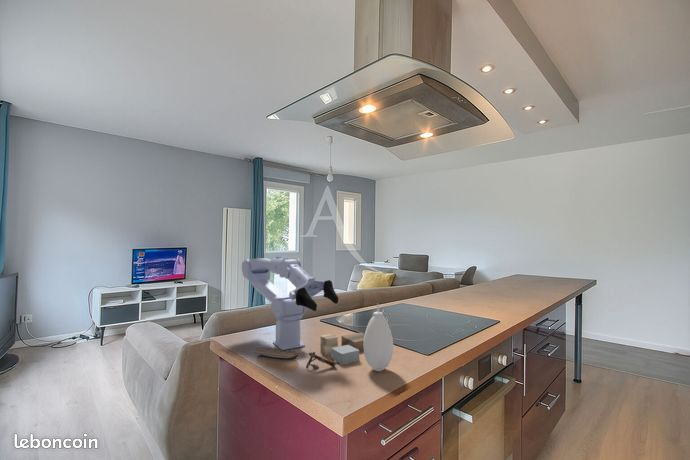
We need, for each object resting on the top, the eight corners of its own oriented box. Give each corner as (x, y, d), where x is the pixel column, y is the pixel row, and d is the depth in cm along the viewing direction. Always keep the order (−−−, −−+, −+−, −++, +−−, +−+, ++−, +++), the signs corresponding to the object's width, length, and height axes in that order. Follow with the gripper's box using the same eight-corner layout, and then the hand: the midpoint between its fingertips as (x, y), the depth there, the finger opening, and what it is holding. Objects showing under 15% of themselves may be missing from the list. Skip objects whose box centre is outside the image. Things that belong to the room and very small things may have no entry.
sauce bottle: (378, 362, 90) (377, 299, 91) (399, 370, 84) (398, 303, 85) (358, 369, 85) (357, 302, 86) (378, 378, 79) (378, 306, 80)
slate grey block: (331, 358, 93) (331, 348, 93) (348, 354, 96) (348, 344, 97) (341, 364, 88) (341, 354, 88) (359, 360, 91) (359, 350, 91)
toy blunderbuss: (302, 364, 86) (309, 349, 87) (329, 375, 87) (335, 359, 87) (303, 367, 84) (309, 351, 85) (329, 378, 85) (336, 362, 86)
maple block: (320, 351, 99) (320, 335, 99) (331, 349, 101) (331, 333, 101) (326, 355, 96) (326, 339, 96) (337, 353, 98) (337, 337, 98)
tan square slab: (341, 345, 106) (341, 336, 106) (360, 341, 110) (360, 332, 110) (354, 351, 99) (354, 342, 99) (374, 347, 103) (374, 338, 103)
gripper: (283, 275, 95) (306, 299, 85) (322, 265, 103) (348, 286, 94) (281, 295, 97) (304, 320, 88) (320, 284, 106) (344, 306, 97)
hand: (326, 304), depth 91 cm, fingers open, 7 cm apart
